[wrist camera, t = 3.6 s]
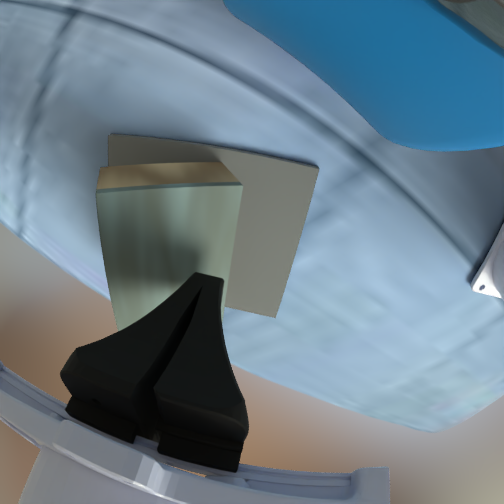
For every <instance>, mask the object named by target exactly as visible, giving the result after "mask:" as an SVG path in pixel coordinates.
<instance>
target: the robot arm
mask: <svg viewBox="0 0 504 504" xmlns="http://www.w3.org/2000/svg"><path fill="white" fill-rule="evenodd" d="M481 285H482V286H481ZM470 286H471V288H472V290H473V291H474V292H478V293H482V294H486V295H490V296H494V297H498V298H502V299H503V301H504V223H503V225H502V227H501V229H500V231H499V233H498V235H497V237H496V239H495V241H494V243H493V245H492V247H491V249H490V251H489V253H488V254H487V256H486V258H485V260H484V262H483V263H482V265H481V267H480V269H479V270H478V272H477V274H476V275H475V277H474V279H473V280H472V282H471V285H470ZM223 288H224V279H223V278H220V277H215V276H211V275H207V274H203V273H198V272H195V273H193V274H192V275H191V276H190V277H189V278H188V279H187V280H186V281H185V282H184V283H183V284H182V285H181V286H180V287H179V288H178V289H177V290H176V291H175V292H174V293H173V294H172V295H170V296H169V297H168V298H167V299H166V300H165V301H163V302H162V303H161V304H160V305H158V306H157V307H156V308H155V309H153V310H152V311H151V312H149V313H148V314H147V315H145V316H144V317H142V318H141V319H139V320H138V321H136V322H134V323H133V324H131V325H129V326H127V327H126V328H124V329H122V330H120V331H118V332H117V333H114V334H112V335H110V336H108V337H105V338H104V339H101V340H99V341H96V342H93V343H90V344H87V345H85V346H81V347H78V348H76V350H75V351H74V352H73V353H72V354H71V356H70V357H69V359H68V360H67V362H66V364H65V365H64V367H63V369H62V370H61V372H60V376H61V379H62V381H63V383H64V384H65V386H66V387H67V389H68V390H69V392H70V393H71V395H72V397H71V399H70V400H69V403H68V404H65V403H63V402H62V401H60V400H58V399H56V398H54V397H52V396H51V395H49V394H47V393H45V392H44V391H42V390H40V389H39V388H37V387H35V386H34V385H32V384H31V383H29V382H27V381H25V380H24V379H23V378H21V377H20V376H18V375H17V374H15V373H14V372H12V371H11V370H9V369H8V368H6V367H5V366H4V365H3V363H2V362H1V361H0V420H1V421H3V422H4V423H5V424H7V425H8V426H9V427H10V428H12V429H13V430H14V431H16V432H17V433H18V434H20V435H21V436H23V437H24V438H25V439H27V440H28V441H30V442H31V443H32V444H34V445H35V446H37V447H38V448H40V449H41V450H40V452H39V455H38V457H37V459H36V461H35V463H34V466H33V468H32V470H31V473H30V475H29V477H28V480H27V482H26V485H25V487H24V490H23V492H22V495H21V497H20V500H19V503H18V504H390V478H389V467H369V468H360V469H357V470H355V471H353V472H352V473H319V472H303V471H291V470H281V469H273V468H265V467H258V466H252V465H246V464H240V463H239V461H240V456H241V452H242V449H243V444H244V440H245V439H246V437H247V435H248V430H249V422H248V416H247V410H246V405H245V400H244V398H243V396H242V393H241V391H240V389H239V387H238V384H237V381H236V379H235V376H234V373H233V370H232V367H231V364H230V361H229V357H228V354H227V350H226V345H225V340H224V335H223V328H222V319H221V303H222V296H223ZM163 463H164V464H163ZM166 464H167V465H166ZM169 465H170V466H169ZM171 466H174V467H178V468H181V469H184V470H188V471H192V472H196V473H200V474H204V475H206V476H205V477H201V476H198V475H195V474H192V473H189V472H186V471H183V470H180V469H177V468H174V467H171Z"/></svg>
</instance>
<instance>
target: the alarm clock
mask: <svg viewBox="0 0 504 504" xmlns="http://www.w3.org/2000/svg"><path fill="white" fill-rule="evenodd" d="M223 2H224V4H225V6H226V7H227V9H228V10H229V11H230V12H231V13H232V14H233V15H234V16H235V17H237V18H238V19H240V20H241V21H243V22H244V23H246V24H247V25H249V26H251V27H252V28H254V29H255V30H257V31H258V32H260V33H261V34H263V35H264V36H266V37H267V38H269V39H270V40H271V41H273V42H274V43H276V44H277V45H278V46H280V47H281V48H283V49H284V50H285V51H287V52H288V53H289V54H291V55H292V56H293V57H295V58H296V59H297V60H299V61H300V62H301V63H302V64H304V65H305V66H306V67H307V68H309V69H310V70H311V71H312V72H314V73H315V74H316V75H317V76H318V77H320V78H321V79H322V80H323V81H324V82H325V83H327V84H328V85H329V86H330V87H331V88H332V89H333V90H335V91H336V92H337V93H338V94H339V95H340V96H341V97H342V98H343V99H345V100H346V101H347V102H348V103H349V104H350V105H351V106H352V107H353V108H354V109H355V110H356V111H357V112H358V113H359V114H360V115H361V116H362V117H363V118H364V119H365V120H366V121H367V122H368V123H369V124H370V125H371V126H372V127H373V128H374V129H375V130H376V131H377V132H378V133H379V134H381V135H382V136H383V137H385V138H386V139H388V140H390V141H391V142H393V143H396V144H399V145H402V146H406V147H410V148H414V149H420V150H426V151H444V152H445V151H468V150H476V149H486V148H494V147H499V146H504V0H223Z"/></svg>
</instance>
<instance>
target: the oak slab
mask: <svg viewBox="0 0 504 504" xmlns="http://www.w3.org/2000/svg"><path fill="white" fill-rule="evenodd" d="M242 190H243V185H242V184H241V183H240V181H239V180H238V179H237V178H236V177H235V176H234V175H233V174H232V173H231V172H230V171H229V170H228V169H227V168H226V166H225V165H224V164H223V163H222V162H188V163H157V164H138V165H123V166H110V167H100V172H99V177H98V183H97V188H96V204H97V214H98V223H99V232H100V239H101V247H102V253H103V260H104V266H105V272H106V277H107V283H108V288H109V293H110V298H111V302H112V307H113V311H114V316H115V320H116V324H117V328H118V331H120V330H122V329H124V328H126V327H127V326H129V325H131V324H133V323H134V322H136V321H138V320H139V319H141V318H142V317H144V316H145V315H147V314H148V313H149V312H151V311H152V310H153V309H155V308H156V307H157V306H158V305H160V304H161V303H162V302H163V301H165V300H166V299H167V298H168V297H169V296H170V295H172V294H173V293H174V292H175V291H176V290H177V289H178V288H179V287H180V286H181V285H182V284H183V283H184V282H185V281H186V280H187V279H188V278H189V277H190V276H191V275H192V274H193V273H195V272H198V273H203V274H207V275H211V276H215V277H220V278H223V279H224V288H223V296H222V303H221V319H222V320H223V313H224V307H225V300H226V293H227V286H228V279H229V273H230V266H231V259H232V253H233V246H234V240H235V234H236V227H237V221H238V215H239V209H240V202H241V196H242Z"/></svg>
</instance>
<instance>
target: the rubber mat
mask: <svg viewBox="0 0 504 504" xmlns="http://www.w3.org/2000/svg"><path fill="white" fill-rule="evenodd" d="M188 162H222V163H223V164H224V165H225V166H226V168H227V169H228V170H229V171H230V172H231V173H232V174H233V175H234V176H235V177H236V178H237V179H238V180H239V181H240V183H241V184H242V185H243V190H242V196H241V202H240V209H239V215H238V221H237V227H236V234H235V240H234V246H233V253H232V259H231V266H230V273H229V279H228V286H227V293H226V300H225V307H229V308H233V309H238V310H242V311H246V312H251V313H255V314H260V315H265V316H269V317H274V318H276V315H277V312H278V309H279V306H280V303H281V299H282V296H283V293H284V290H285V287H286V283H287V280H288V277H289V274H290V270H291V267H292V264H293V260H294V257H295V254H296V250H297V247H298V244H299V240H300V237H301V233H302V230H303V226H304V223H305V219H306V216H307V212H308V209H309V205H310V202H311V198H312V194H313V191H314V187H315V183H316V180H317V176H318V172H319V167H317V166H313V165H309V164H304V163H300V162H296V161H291V160H287V159H283V158H278V157H273V156H268V155H264V154H259V153H254V152H248V151H243V150H237V149H232V148H226V147H220V146H214V145H208V144H201V143H194V142H187V141H180V140H172V139H163V138H154V137H145V136H134V135H122V134H110V135H108V167H110V166H123V165H138V164H157V163H188Z"/></svg>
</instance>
